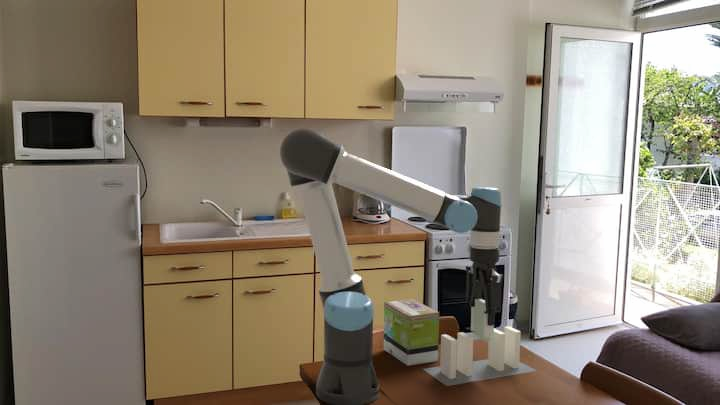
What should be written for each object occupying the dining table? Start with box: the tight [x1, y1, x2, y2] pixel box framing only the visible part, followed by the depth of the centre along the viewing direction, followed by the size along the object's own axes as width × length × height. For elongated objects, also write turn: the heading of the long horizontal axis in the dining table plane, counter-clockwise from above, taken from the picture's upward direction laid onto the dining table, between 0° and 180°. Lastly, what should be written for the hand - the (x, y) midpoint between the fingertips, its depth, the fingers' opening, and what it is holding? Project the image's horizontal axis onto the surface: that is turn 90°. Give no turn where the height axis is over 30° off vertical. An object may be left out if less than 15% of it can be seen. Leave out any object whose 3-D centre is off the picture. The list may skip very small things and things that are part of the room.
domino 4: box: [503, 326, 522, 369], centre depth 162 cm, size 2×5×10 cm, turn 23°
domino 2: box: [456, 331, 474, 376], centre depth 156 cm, size 2×5×10 cm, turn 23°
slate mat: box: [422, 358, 538, 387], centre depth 159 cm, size 28×12×1 cm, turn 113°
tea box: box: [383, 298, 440, 366], centre depth 169 cm, size 15×10×15 cm
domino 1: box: [439, 334, 457, 379], centre depth 154 cm, size 2×5×10 cm, turn 23°
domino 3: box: [487, 327, 505, 371], centre depth 160 cm, size 2×5×10 cm, turn 23°
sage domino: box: [473, 298, 490, 342], centre depth 157 cm, size 2×5×10 cm, turn 23°
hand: (482, 333), depth 158 cm, fingers closed on sage domino, 5 cm apart
